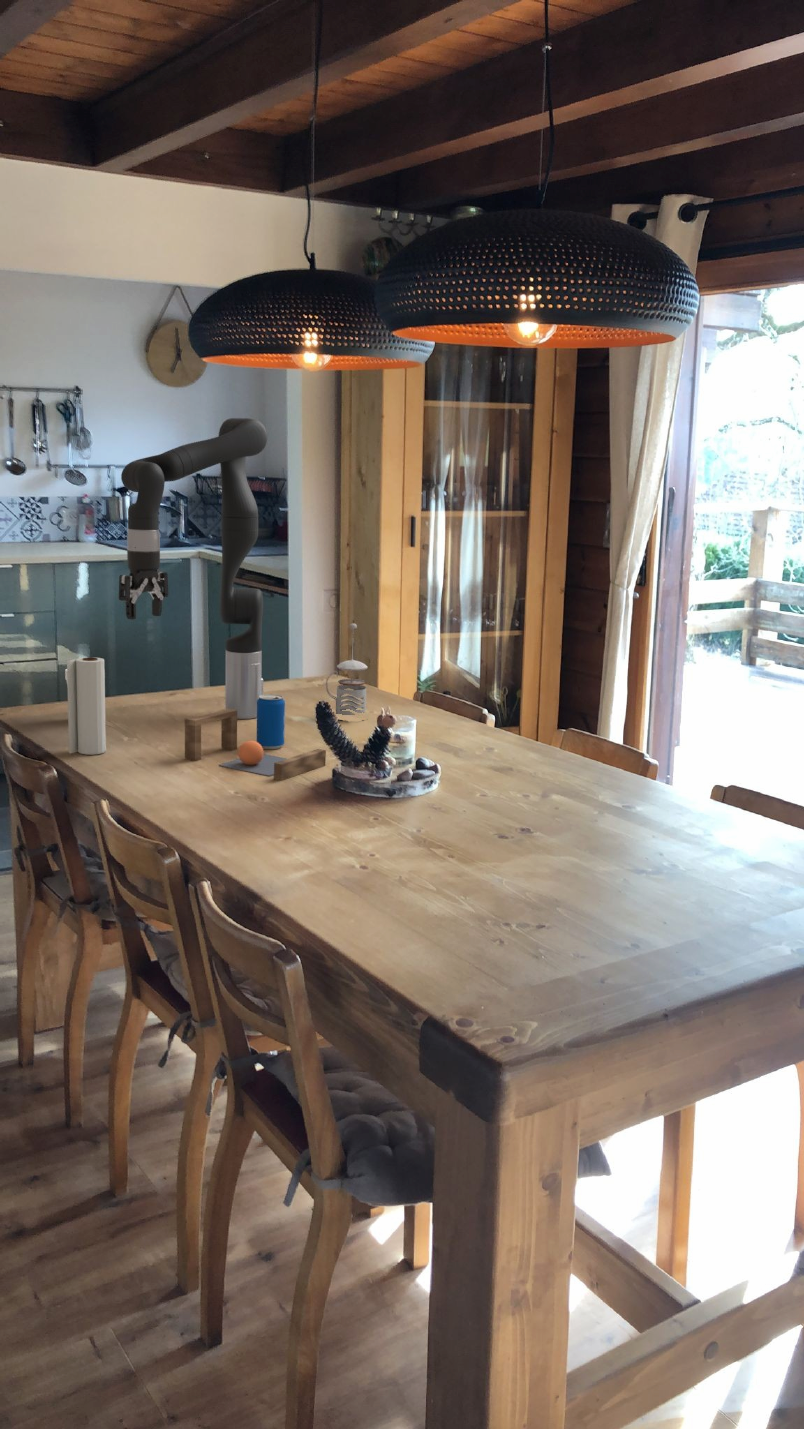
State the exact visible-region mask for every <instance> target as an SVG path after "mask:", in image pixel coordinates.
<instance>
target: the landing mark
mask: <svg viewBox="0 0 804 1429" xmlns="http://www.w3.org/2000/svg"><path fill="white" fill-rule="evenodd" d="M285 759H288V758H287V757H281V756H278V755H277V756H276V755H271V754H267V753H264V754H263V758H262V760H261V761H260V762H259V763H258V764H256V765H246V764H244V763H243V762H242V761H241V760H240V758H236V759H233V760H229V761H226V762H224V763H221V764H218V766H219V767H224V768H226V769H231V770H236V771H237V770H238V771H242V772H247V773H251V774H256V775H261V776H266V777H272V776H274V763H275V762H279V761H282V760H285Z"/></svg>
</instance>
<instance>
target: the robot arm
mask: <svg viewBox="0 0 804 1429" xmlns="http://www.w3.org/2000/svg"><path fill="white" fill-rule="evenodd" d="M267 443H268V432H267V429H266V427H265V425H264V424H263V423H262V422H260V421H259V420H257V419H254V418H249V417H245V418H244V417H242V418H241V417H238V418H237V417H233V418H232V417H231V418H228V419H226V420H224V421H223V422H222V424H221V425H220V428H219V431H218V436H215V437H212V438H207V439H203V440H199V441H194V442H189V443H186V444H182V445H180V446H177V447H174V448H172V449H169V450H167V451H164V452H162V453H159V454H157V455H152V456H146V457H143V458H142V457H141V458H139V459H136V460H133V461H131V462H128V463H127V464H126V465H125V466H124V468H122V470H121V471H122V472H121V475H120V476H121V483H122V484H123V487H124V488H125V489H127V490H128V491H131V492H132V493H133V492H134V493H137V496H136V500H135V502H134V503H132V504H130V505H129V506H128V508H127V538H126V544H127V545H126V547H127V548H126V550H127V551H126V556H127V557H126V558H127V562H126V563H127V569H129V575H126V574H120V575H119V576H118V577H119V579H118V581H119V582H118V600H119V601H120V602H121V601H122V602H123V603H124V604H125V615H126V618H127V619H128V620H136V618H137V603H136V602H137V600H138V598H139V597H140V596H141V595H142V593H146V592H147V593H148V594H150V596H151V598H152V600H151V611H152V612H151V614H152V616H154V617H160V616H162V612H163V607H162V606H163V602H162V601H163V600H164V598H168V597H169V577H168V572H167V571H166V572H165V571H158V570H160V568H161V540H160V532H159V528H160V527H159V522H160V521H159V520H160V519H159V512H160V508H161V504H162V499H163V495H164V492H165V491H164V490H165V484H166V483H167V482H175V481H178V480H181V479H184V478H186V477H189V476H191V475H193V474H195V473H198V472H201V471H202V470H206V469H208V468H210V467H213V466H216V465H219V464H220V475H221V526H220V527H221V530H220V531H221V555H222V557H221V577H220V578H221V580H220V581H221V582H220V594H219V596H220V597H219V598H220V599H219V612H220V619H221V621H222V623H223V624H227V625H229V624H230V625H249V628H248V629H247V630H245V631H244V632H241V633H239V634H237V635H234V636H231V637H229V638H226V640H225V693H224V694H225V695H224V696H225V702H224V703H225V704H224V705H225V707H224V709H227V708H228V709H234V710H237V720H238V719H239V720H240V719H242V720H248V719H249V720H250V719H257V701H258V699H259V696H260V695H264V679H263V677H262V663H263V662H262V660H263V659H262V655H263V654H262V652H263V651H262V650H263V648H262V639H263V638H262V630H263V628H262V627H263V615H264V614H263V613H264V596H263V592H262V591H261V589H259V588H250V587H249V588H248V587H234V582H235V578H236V575H237V574H238V571H239V569H240V567H241V566H242V564H243V562H244V561H245V559H246V557H247V556H248V555H249V553H250V552H251V550H252V549H253V547H254V545H255V544H256V542H257V539H258V537H259V510H258V505H257V502H256V498H255V497H254V494H253V492H252V490H251V487H250V485H249V482H248V477H247V471H246V468H247V467H246V464H247V463H246V461H247V460H246V458H247V457H254V456H257V455H259V454H260V453H262V452H263V450H264V449H265V448H266V445H267ZM165 482H166V483H165Z"/></svg>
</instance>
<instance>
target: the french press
mask: <svg viewBox="0 0 804 1429" xmlns="http://www.w3.org/2000/svg"><path fill="white" fill-rule="evenodd" d="M357 628H358V627H357V624H356V623H350V624H349V629H352V633H354V632H355V631H354V629H357ZM351 645H352V646H351V647H352V648H351V649H352V650H351V653H352V654H351V659H350V660H344V661H342V662H340V663H339V664H337V665H336V668H337V669H339V670H343V671H351V672H354V671H366V670H367V669H368V668H369V667H368V666H367V664H365V663H363V662H361V661H359V660H355V659H354V639H352V643H351ZM333 674H336V677H337V678H338V676H339V671H338V670H334V671H332V672H330V673H329V674H328V676H327V677H326V681H325V689H326V690H325V691H326V693H327V695H328V696H329V697H330V698H332V699H334V700H335V714H342V715H355V714H354V713H352V712H350V711H342V710H346V709H350V710H353V711H355V712H357V713H362V712H363V713H365V712H366V713H367V687H366V686H364V685H365V684H366V681H365V680H362V679H358V678H356V679H355V678H353V677H351V678H342V679H339V680H338V681H337V682H338V684H339V685H338V686H337V688H336V696H335V695H333V694H332V693H331V692H330V691H329V687H328V681H329V678H330V677H331V676H332V675H333ZM344 695H345V696H344ZM360 699H361V700H360ZM360 704H361V705H360ZM356 709H359V710H356Z"/></svg>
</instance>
